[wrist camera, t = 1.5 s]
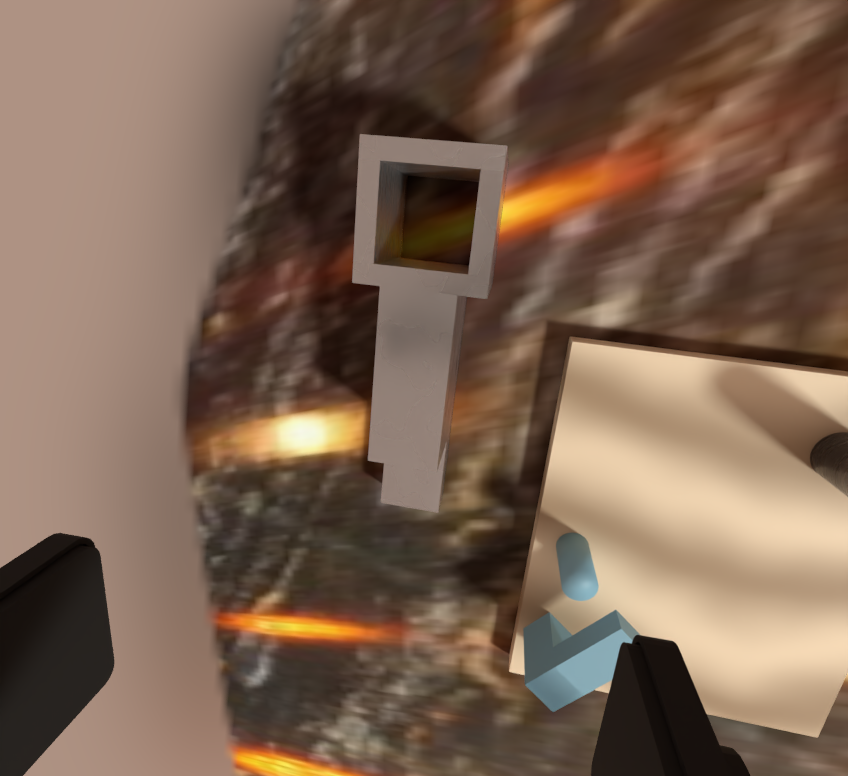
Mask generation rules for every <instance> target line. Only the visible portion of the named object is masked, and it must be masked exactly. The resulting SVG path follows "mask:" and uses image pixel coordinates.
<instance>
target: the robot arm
mask: <svg viewBox="0 0 848 776" xmlns="http://www.w3.org/2000/svg"><path fill="white" fill-rule="evenodd" d="M113 668H114V654H113V647H112V640H111V633H110V625H109V618H108V610H107V602H106V594H105V587H104V579H103V572H102V564H101V557H100V553H99V551H98V550H97V548H95V545H94V543H93V541H92V540H91V539H89V538H85V537H79V536H74V535H68V534H62V533H58V534H53V535H51V536H49V537H48V538H46V539H44V540H43V541H41V542H40V543H38V544H37V545H35V546H34V547H32V548H31V549H29V550H28V551H26V552H24V553H23V554H21V555H20V556H18V557H17V558H15V559H14V560H12V561H11V562H9V563H8V564H6V565H4V566H3V567H1V568H0V776H23V775H24V774H25V773H26V772H27V770H28V769H29V768H30V767H31V766H32V765H33V764H34V763H35V761H37V759H38V758H39V757H40V756H41V755H42V754H43V753H44V752H45V750H46V749H47V748H48V747H49V746H50V745H51V744H52V743H53V742H54V741H55V739H56V738H57V737H58V736H59V735H60V734H61V733H62V732H63V730H64V729H65V728H66V727H67V726H68V725H69V724H70V723H71V722H72V720H73V719H74V718H75V717H76V716H77V715H78V714H79V713H80V712H81V711H82V709H83V708H84V707H85V706H86V705H87V704H88V703H89V702H90V701H91V700H92V698H93V697H94V696H95V695H96V694H97V693H98V692H99V691H100V689H101V688H102V687H103V686H104V685H105V684H106V682H107V681H108V679H109V678H110V676H111V674H112V671H113ZM591 776H750V774H749V772H748V770H747V768H746V766H745V764H744V762H743V760H742V759H741V757H740V755H739V754H738V753H737V752H736V751H735V750H734V749H732V748H729V747H726V746H721V745H719V743H718V741H717V738H716V736H715V733H714V731H713V729H712V726H711V724H710V721H709V719H708V717H707V714H706V712H705V710H704V707H703V705H702V702H701V700H700V698H699V695H698V693H697V690H696V688H695V686H694V683H693V681H692V678H691V676H690V674H689V671H688V669H687V666H686V664H685V662H684V659H683V657H682V654H681V652H680V650H679V648H678V646H677V644H676V643H675V642H674V641H670V640H665V639H659V638H653V637H648V636H642V635H636V636H635V637H634V638H633V641H632V644H631V643H626V642H623V643H622V644H621V646H620V649H619V654H618V658H617V662H616V666H615V670H614V674H613V678H612V683H611V687H610V691H609V695H608V699H607V703H606V707H605V711H604V716H603V720H602V724H601V728H600V732H599V736H598V740H597V745H596V749H595V753H594V757H593V761H592V770H591Z"/></svg>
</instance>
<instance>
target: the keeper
mask: <svg viewBox="0 0 848 776" xmlns="http://www.w3.org/2000/svg"><path fill="white" fill-rule="evenodd" d="M556 551H557V558H558V565H559V572H560V579H561V586H562V590H563V592H564V594H565V595H566V596H567V597H569V598H571V599H573V600H576V601H585V600H589V599H591V598H592V597H594V596H595V595H596V593H597V592H598V588H599V585H598V580H597V576H596V572H595V568H594V564H593V560H592V556H591V552H590V548H589V544H588V541H587V540H586V538H585V537H584V536H582V535H580V534H578V533H566V534H564V535H562V536H561V537H560V538H559V539H558V540H557V543H556ZM523 634H524V669H525V685H526V686H527V687H528V688H529V689H530V690H531V691H532V692H533V693H534V694H535V695H536V696H537V697H538V698H539V699H540V700H541V701H542V702H543V703H544V704H545V705H546V706H547V707H548V708H549V709H550V710H551V711H552V712H554V711H556V710H558V709H560V708H562V707H563V706H565V705H567V704H569V703H571V702H573V701H574V700H576V699H578V698H580V697H582V696H584V695H586V694H587V693H589V692H591V691H593V690H595V689H597V688H598V687H600V686H602V685H604V684H606V683H608V682H609V681H611V680H612V678H613V674H614V670H615V666H616V662H617V658H618V654H619V649H620V646H621V644H622V643H623V642H626V643H631V644H632V641H633V638H634V637H635V636H636V635H640V634H639V633H638V632H637V631H636V630H635V629H634V628H633V627H632V626H631V624H630V623H629V622H628V621H627V620H626V619H625V618H624V617H623V616H622V615H621V614H620V613H619V612H618V611H617V610H614V611H613V612H611V613H609V614H608V615H606V616H604V617H603V618H601V619H599V620H598V621H596V622H594V623H593V624H591V625H589V626H587V627H586V628H584V629H582V630H581V631H579V632H577V633H576V634H574V635H572V634H571V633H570V632H569V631H568V630H567V629H566V628H565V627H564V626H563V625H562V624H561V623H560V622H559V621H558V620H557V619H556V618H555V617H554V616H553V615H552V614H551V613H550V612H549V613H547V614H545V615H544V616H542V617H541V618H539V619H537V620H536V621H534V622H533V623H531V624H530V625H528V626H526V627H525V628H523Z"/></svg>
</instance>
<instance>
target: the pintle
mask: <svg viewBox="0 0 848 776" xmlns="http://www.w3.org/2000/svg"><path fill="white" fill-rule="evenodd" d="M810 463H811V466H812V468H813V469H814V470H815V472H817V473H818V474H819V475H820V476H822V477H823V478H824V479H825V480H827V481H828V482H829V483H830V484H832V485H833V486H834V487H836V488H837V489H838V490H839V491H841V492H842V493H843V494H844V495H846V496H847V497H848V433H847V432H838V433H833V434H830V435H828V436H825V437H824V438H822V439H821V440H819V441H818V442H817V443H816V444H815V446H814V447H813V449H812V451H811V454H810Z"/></svg>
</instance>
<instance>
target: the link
mask: <svg viewBox="0 0 848 776" xmlns="http://www.w3.org/2000/svg"><path fill="white" fill-rule="evenodd" d="M507 171H508V148H507V146H504V145H492V144H479V143H466V142H454V141H441V140H429V139H416V138H404V137H391V136H379V135H366V134H360V140H359V159H358V178H357V198H356V217H355V236H354V255H353V275H352V283H358V284H366V285H375V286H380V290H379V305H378V320H377V334H376V349H375V363H374V378H373V392H372V407H371V421H370V436H369V451H368V461H373V462H379V463H384V469H383V482H382V494H381V503H386V504H392V505H398V506H403V507H409V508H415V509H420V510H426V511H432V512H437V513H438V511H439V507H440V504H441V500H442V495H443V487H444V479H445V470H446V462H447V454H448V446H449V438H450V430H451V421H452V413H453V405H454V397H455V389H456V380H457V372H458V364H459V356H460V348H461V340H462V331H463V323H464V315H465V307H466V299H467V297H475V298H484V299H487V297H488V294H489V292H490V289H491V287H492V281H493V274H494V267H495V259H496V252H497V245H498V237H499V230H500V223H501V215H502V208H503V201H504V193H505V186H506V179H507ZM408 176H417V177H428V178H440V179H451V180H462V181H473V182H479V189H478V197H477V205H476V213H475V222H474V230H473V238H472V246H471V255H470V263H469V265H462V264H453V263H444V262H435V261H426V260H417V259H408V258H401V253H402V240H403V228H404V215H405V203H406V190H407V178H408Z"/></svg>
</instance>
